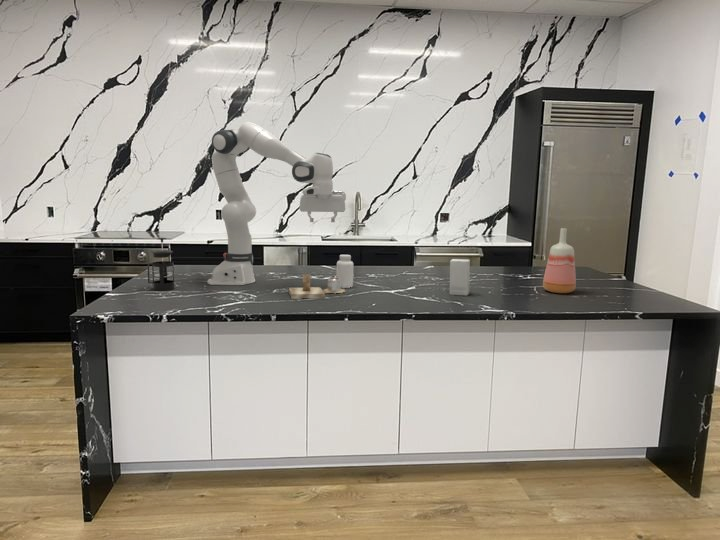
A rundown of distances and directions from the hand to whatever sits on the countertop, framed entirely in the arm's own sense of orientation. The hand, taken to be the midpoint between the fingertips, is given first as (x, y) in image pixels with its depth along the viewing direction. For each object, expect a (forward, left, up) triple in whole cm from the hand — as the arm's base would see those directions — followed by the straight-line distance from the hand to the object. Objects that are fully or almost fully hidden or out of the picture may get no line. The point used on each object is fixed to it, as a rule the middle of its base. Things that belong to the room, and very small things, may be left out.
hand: (322, 222), depth 244 cm
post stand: (-8, -9, -31) cm, 33 cm away
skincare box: (+60, -15, -31) cm, 69 cm away
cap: (+5, -3, -30) cm, 31 cm away
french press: (-70, +12, -31) cm, 78 cm away
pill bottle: (+12, +8, -31) cm, 34 cm away
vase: (+109, -16, -31) cm, 115 cm away
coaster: (+5, -3, -31) cm, 32 cm away
